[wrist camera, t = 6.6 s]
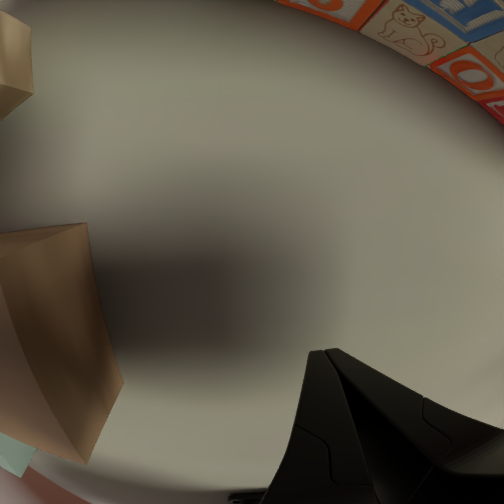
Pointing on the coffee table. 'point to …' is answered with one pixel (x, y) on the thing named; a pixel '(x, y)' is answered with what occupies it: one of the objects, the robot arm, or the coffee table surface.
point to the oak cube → (14, 63)
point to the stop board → (15, 455)
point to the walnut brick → (53, 343)
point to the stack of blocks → (433, 38)
